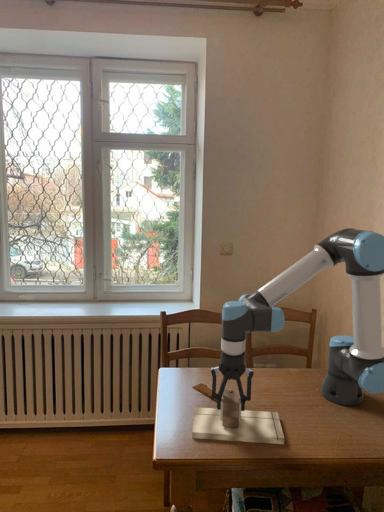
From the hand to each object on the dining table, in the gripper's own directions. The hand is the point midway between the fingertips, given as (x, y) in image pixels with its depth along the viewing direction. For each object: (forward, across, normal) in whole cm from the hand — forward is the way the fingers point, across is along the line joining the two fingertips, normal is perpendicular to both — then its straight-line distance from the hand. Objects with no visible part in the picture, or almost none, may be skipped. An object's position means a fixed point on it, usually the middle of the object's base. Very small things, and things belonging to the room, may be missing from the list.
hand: (230, 418), depth 124 cm
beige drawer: (0, 0, 0) cm, 0 cm away
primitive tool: (+4, +7, -19) cm, 20 cm away
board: (+3, -2, 0) cm, 4 cm away
